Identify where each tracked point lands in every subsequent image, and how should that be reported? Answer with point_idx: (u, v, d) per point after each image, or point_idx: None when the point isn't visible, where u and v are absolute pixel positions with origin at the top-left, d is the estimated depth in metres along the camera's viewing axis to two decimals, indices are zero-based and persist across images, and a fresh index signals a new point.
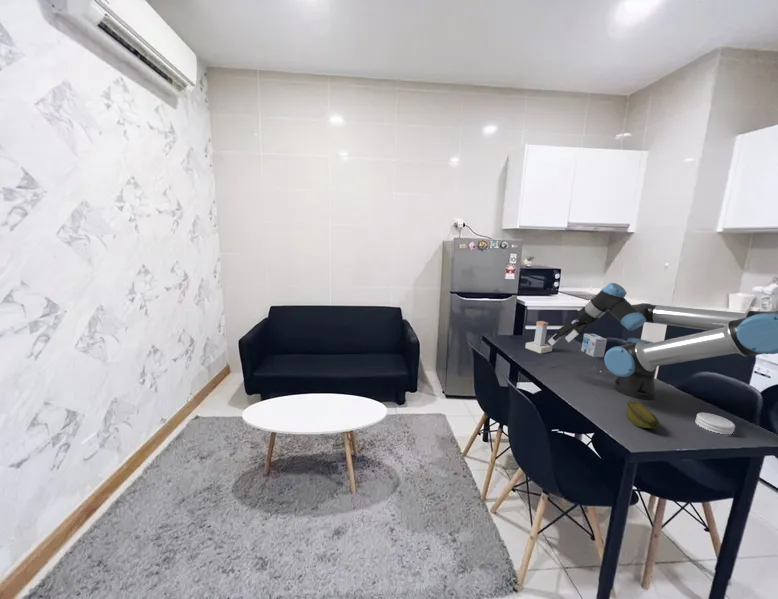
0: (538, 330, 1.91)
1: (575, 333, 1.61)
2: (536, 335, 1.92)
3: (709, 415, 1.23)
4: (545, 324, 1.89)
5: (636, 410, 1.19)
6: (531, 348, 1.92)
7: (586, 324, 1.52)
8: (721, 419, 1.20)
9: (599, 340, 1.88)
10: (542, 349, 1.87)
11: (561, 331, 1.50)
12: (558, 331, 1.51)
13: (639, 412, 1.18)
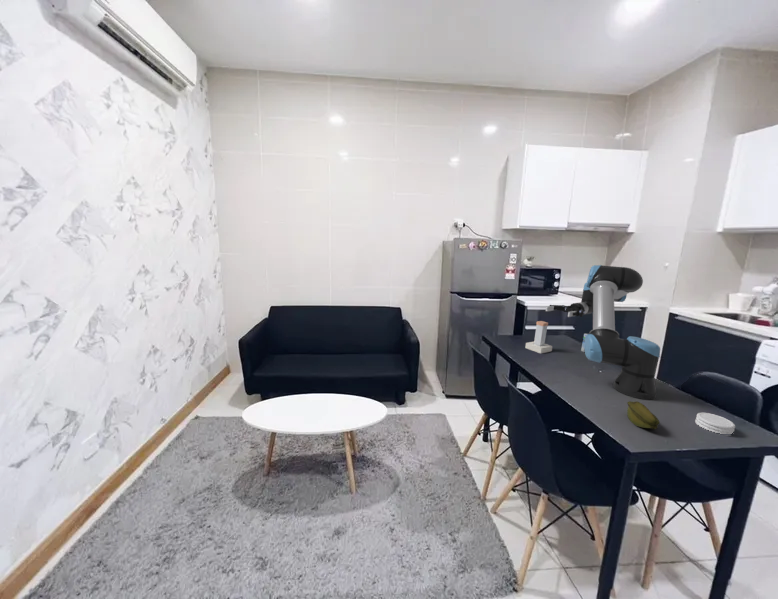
0: (538, 330, 1.91)
1: None
2: (536, 335, 1.92)
3: (709, 415, 1.23)
4: (545, 324, 1.89)
5: (636, 410, 1.19)
6: (531, 348, 1.92)
7: (575, 307, 1.99)
8: (721, 419, 1.20)
9: None
10: (542, 349, 1.87)
11: None
12: None
13: (639, 412, 1.18)
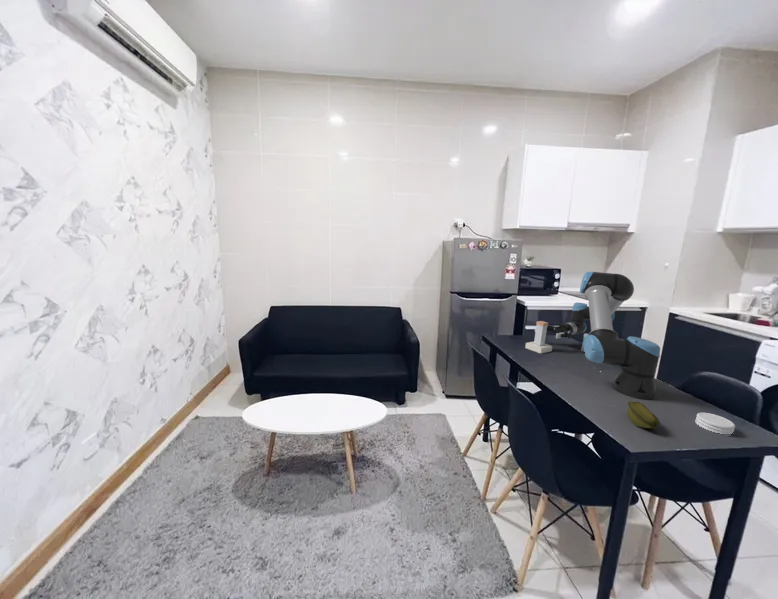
0: (538, 330, 1.91)
1: None
2: (536, 335, 1.92)
3: (709, 415, 1.23)
4: (545, 324, 1.89)
5: (636, 410, 1.19)
6: (531, 348, 1.92)
7: (564, 327, 2.01)
8: (721, 419, 1.20)
9: None
10: (542, 349, 1.87)
11: None
12: None
13: (639, 412, 1.18)
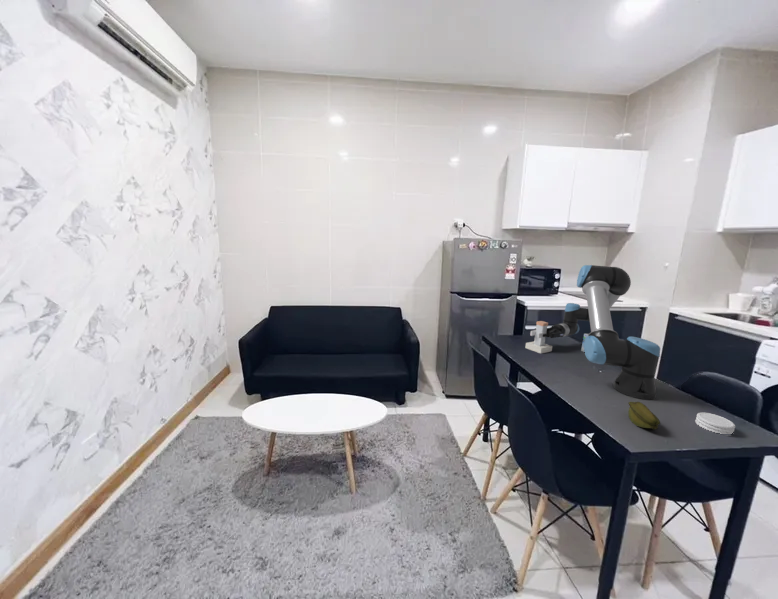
0: (538, 330, 1.91)
1: None
2: (536, 335, 1.92)
3: (709, 415, 1.23)
4: (545, 324, 1.89)
5: (637, 410, 1.19)
6: (531, 348, 1.92)
7: (556, 329, 1.96)
8: (721, 419, 1.20)
9: None
10: (542, 349, 1.87)
11: None
12: None
13: (640, 412, 1.18)
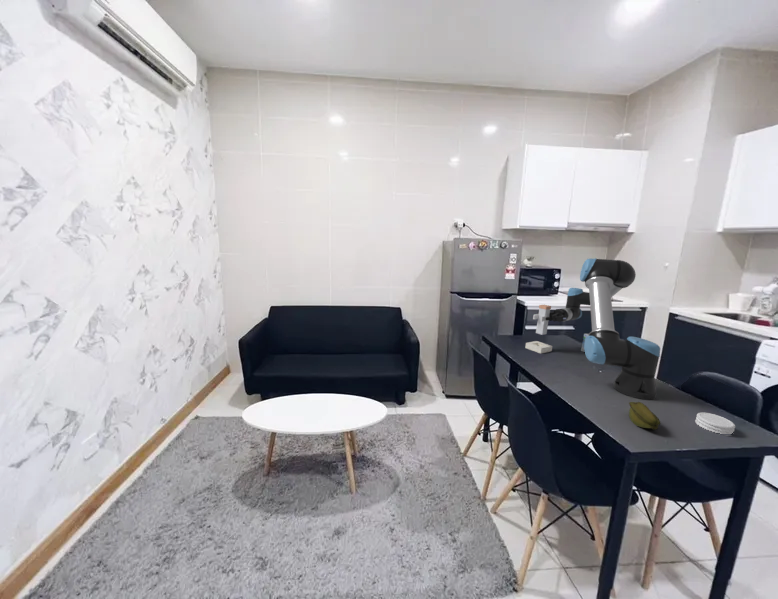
0: (541, 313, 1.90)
1: None
2: (539, 319, 1.91)
3: (709, 415, 1.23)
4: (548, 307, 1.87)
5: (637, 410, 1.19)
6: (531, 348, 1.92)
7: (559, 313, 1.95)
8: (721, 419, 1.20)
9: None
10: (542, 349, 1.87)
11: None
12: None
13: (640, 412, 1.18)
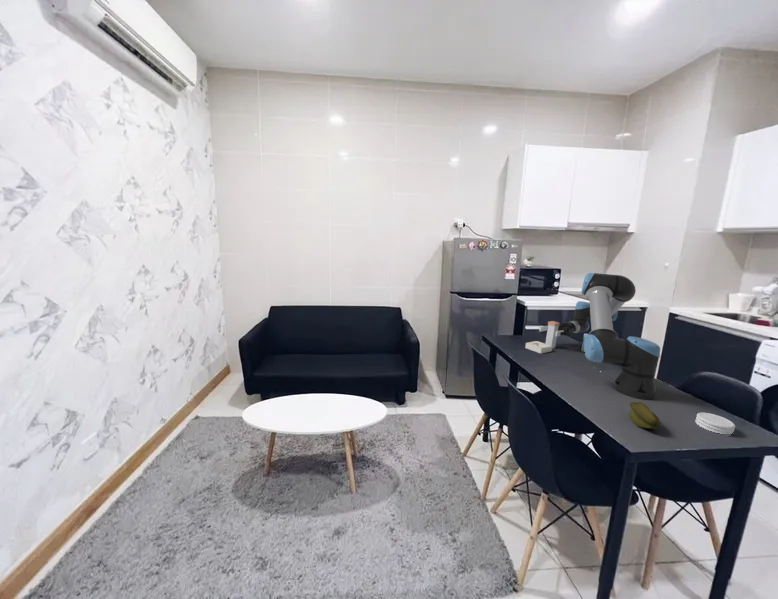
0: (549, 329, 1.97)
1: None
2: (548, 335, 1.98)
3: (709, 415, 1.23)
4: (557, 324, 1.95)
5: (637, 410, 1.19)
6: (531, 348, 1.92)
7: (567, 326, 2.02)
8: (721, 419, 1.20)
9: None
10: (542, 349, 1.87)
11: None
12: None
13: (640, 412, 1.18)
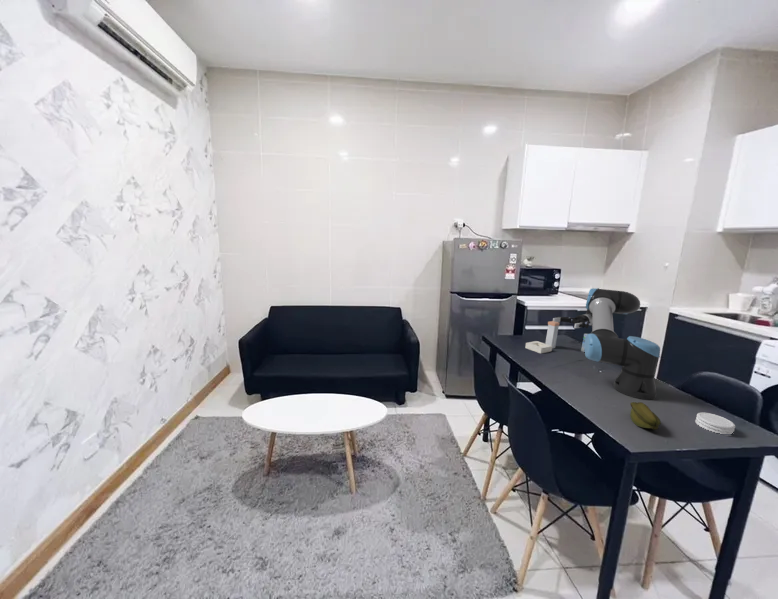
0: (549, 329, 1.97)
1: None
2: (548, 335, 1.98)
3: (709, 415, 1.23)
4: (557, 324, 1.95)
5: (638, 410, 1.19)
6: (531, 348, 1.92)
7: (581, 319, 2.08)
8: (721, 419, 1.20)
9: None
10: (542, 349, 1.87)
11: None
12: None
13: (640, 412, 1.18)
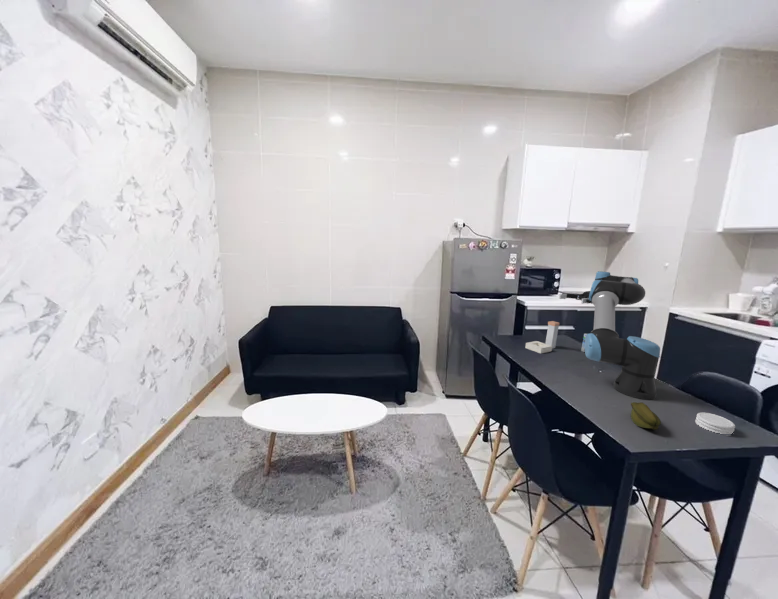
0: (549, 329, 1.97)
1: None
2: (548, 335, 1.98)
3: (709, 415, 1.23)
4: (557, 324, 1.95)
5: (638, 410, 1.19)
6: (531, 348, 1.92)
7: (588, 294, 2.03)
8: (721, 419, 1.20)
9: None
10: (542, 349, 1.87)
11: None
12: None
13: (641, 412, 1.18)
